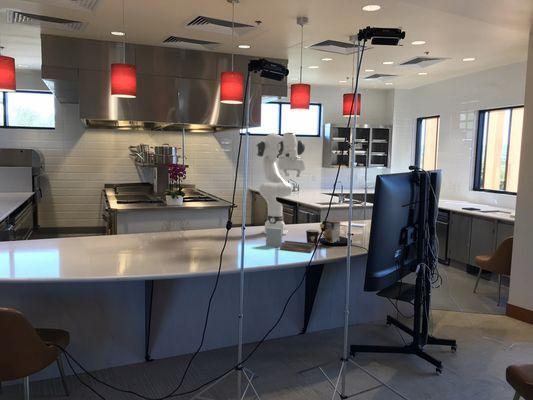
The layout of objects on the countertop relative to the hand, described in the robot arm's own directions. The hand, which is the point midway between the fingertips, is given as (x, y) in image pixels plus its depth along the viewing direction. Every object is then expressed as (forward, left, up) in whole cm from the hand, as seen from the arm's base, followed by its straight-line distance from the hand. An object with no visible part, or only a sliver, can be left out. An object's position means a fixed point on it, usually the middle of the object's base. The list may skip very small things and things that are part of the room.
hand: (292, 176), depth 302 cm
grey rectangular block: (+8, -9, -46) cm, 48 cm away
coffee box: (-15, +25, -46) cm, 55 cm away
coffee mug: (-6, +15, -46) cm, 49 cm away
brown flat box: (+10, +8, -46) cm, 48 cm away
